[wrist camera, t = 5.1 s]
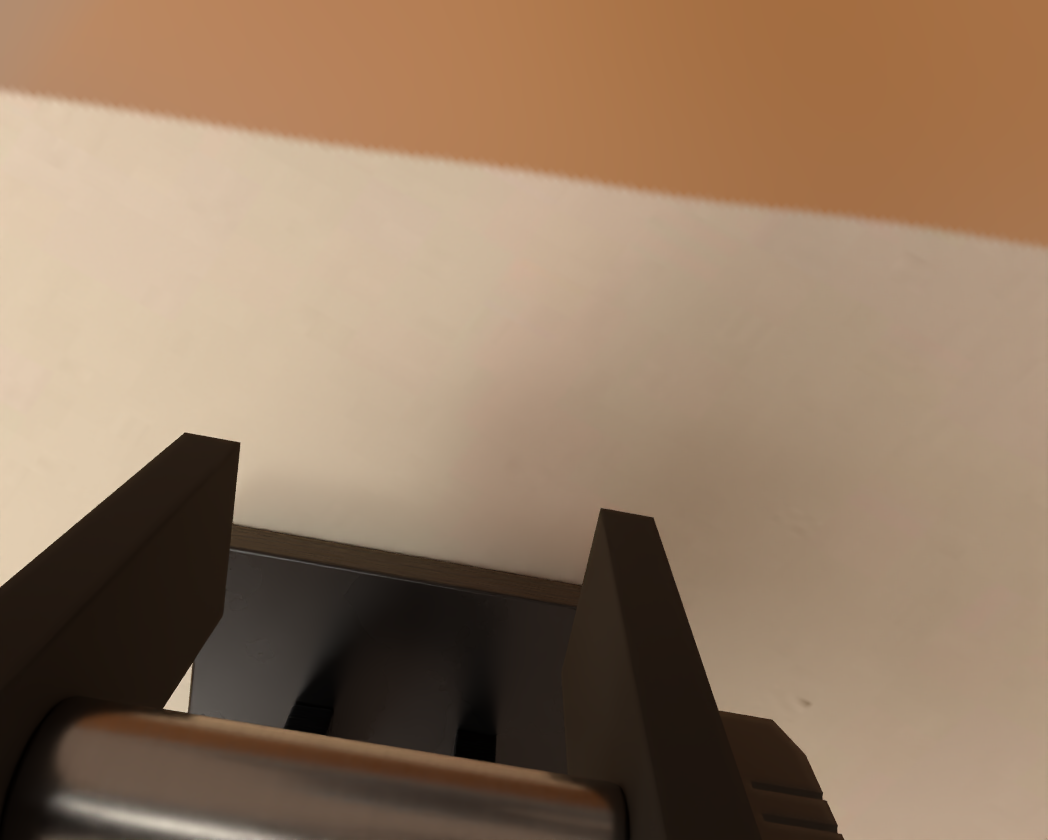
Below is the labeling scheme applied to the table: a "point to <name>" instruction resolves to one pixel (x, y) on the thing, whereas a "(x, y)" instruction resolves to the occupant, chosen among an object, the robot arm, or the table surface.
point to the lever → (277, 785)
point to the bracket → (389, 650)
